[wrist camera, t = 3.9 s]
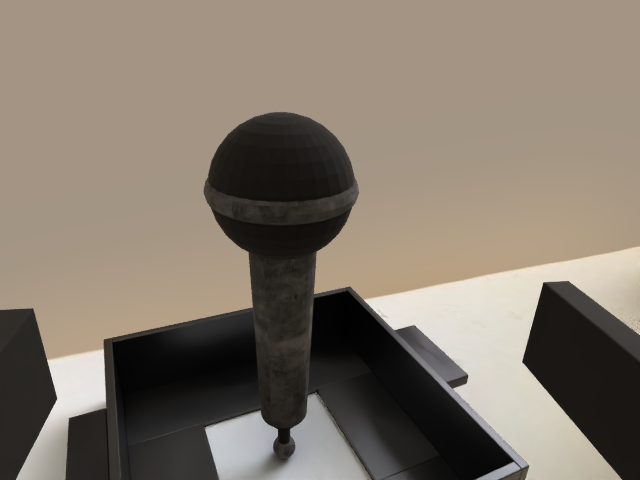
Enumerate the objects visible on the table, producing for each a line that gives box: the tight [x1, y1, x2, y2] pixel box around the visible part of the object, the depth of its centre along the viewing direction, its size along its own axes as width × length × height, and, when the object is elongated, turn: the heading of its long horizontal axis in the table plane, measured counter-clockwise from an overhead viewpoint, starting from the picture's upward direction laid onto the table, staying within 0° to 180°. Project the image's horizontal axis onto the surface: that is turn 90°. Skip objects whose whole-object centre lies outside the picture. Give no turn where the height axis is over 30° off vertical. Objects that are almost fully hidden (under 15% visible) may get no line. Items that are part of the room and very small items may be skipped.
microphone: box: [204, 112, 359, 458], centre depth 23 cm, size 7×7×20 cm
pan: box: [65, 287, 529, 480], centre depth 26 cm, size 22×18×5 cm
